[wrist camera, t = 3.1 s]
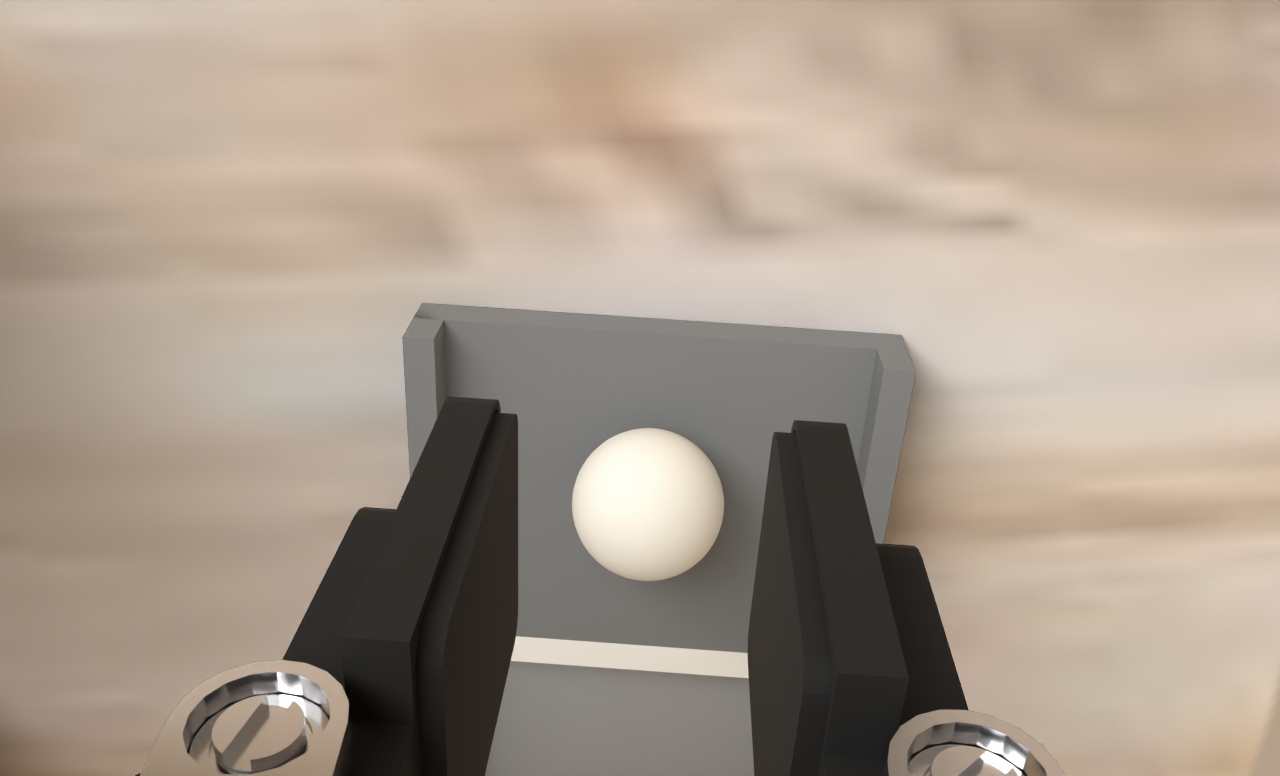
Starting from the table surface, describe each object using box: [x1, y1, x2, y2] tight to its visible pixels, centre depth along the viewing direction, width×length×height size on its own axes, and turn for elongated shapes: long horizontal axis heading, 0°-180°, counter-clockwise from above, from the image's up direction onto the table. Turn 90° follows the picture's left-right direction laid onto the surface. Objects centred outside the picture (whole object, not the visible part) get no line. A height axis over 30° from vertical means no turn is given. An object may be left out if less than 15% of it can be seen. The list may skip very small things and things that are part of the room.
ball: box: [572, 428, 724, 581], centre depth 29 cm, size 4×4×4 cm
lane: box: [403, 303, 916, 776], centre depth 32 cm, size 20×13×4 cm, turn 177°
